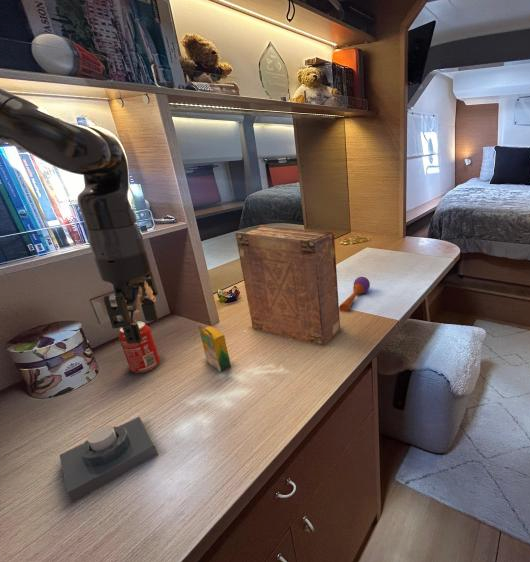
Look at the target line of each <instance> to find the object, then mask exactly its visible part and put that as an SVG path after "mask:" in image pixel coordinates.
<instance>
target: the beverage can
mask: <svg viewBox="0 0 530 562" xmlns="http://www.w3.org/2000/svg"><path fill="white" fill-rule="evenodd" d="M137 323H138V327H139V330H140V333H141V336H142V340H141V342H140V343H134V344H129V343H127V340H126V337H125V334H124V331H123V328H119V333H118V339H119V342H120V345H121V347H122V351H123V353H124V356H125V359H126V361H127V364H128V366H129V369H130V371H131V372H133V373H137V374H140V373H141V374H142V373H145V372H148V371H151V370H153V369H155V368H156V367H157V366H158V365H159V364H160V362H161V360H160V356H159V353H158V350H157V346H156V343H155V341H154V337H153V334H152V331H151V327H150V326H148V325H147V324H146V323H145V322H144V321H137Z"/></svg>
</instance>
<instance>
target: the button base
mask: <svg viewBox="0 0 530 562" xmlns="http://www.w3.org/2000/svg"><path fill="white" fill-rule="evenodd" d="M112 427H113V428H114V431H115V433H116V436H117V440H116V442H115V443H114V444H112V445H111V446H110V447H108V448H106V449H104V450H101V451H97V452H94V451H92V449H91V447H90V445H89V443H88V439H86V440H85V441H84V442H83V443H81V444H79V445H76V446H75V447H73V448H71V449H68V450H66V451H64V452H62V453H61V454H59V459H60V464H61V469H62V474H63V478H64V483H65V489H66V493H67V495H68V497H69V499H70V501H71V502H72V503H75V502H77V501H78V500H80V499H82V498H84V497H87V495H90V494H91V493H93V492H94V491H96V490H98V489H100V488H102V487H104V486H106V485H107V484H109V483H110V482H113V481H114V480H116V479H118V478H119V477H122V476H123V475H125V474H127V473H128V472H130V471H131V470H133V469H136V468H137V467H139V466H141V465H143V464H144V463H146V462H148V461H150V460H151V459H153V458H155V457H156V456H159V452H158V450H157V448H156V445H155V443H154V441H153V439H152V437H151V435H150V433H149V431H148V430H147V428H146V425H145V424H144V422H143V421H142V419H141V417H140V416H137V417H135V418H133V419H131V420H129V421H127V422H124V423H123V424H120V425H119V426H117V425H116V426H112Z"/></svg>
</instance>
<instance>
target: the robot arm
mask: <svg viewBox="0 0 530 562" xmlns="http://www.w3.org/2000/svg"><path fill="white" fill-rule="evenodd" d="M0 142H4V143H6V144H8V145H11V146H14V147H18V148H21V149H22V150H24V151H25V152H27V153H29V154H30V155H32V156H34V157H36V158H37V159H39V160H41V161H43V162H44V163H47V164H49V165H51V166H52V167H55V168H57V169H59V170H62V171H65V172H68V173H72V174H75V175H80V176H83V181H84V188H83V190H82V191H81V192H80V193H79V194H78V196H77V204H78V205H77V206H78V209H79V212H80V214H81V218H82V221H83V223H84V224H83V225H84V227H85V230H86V234H87V241H88V244H89V247H90V250H91V254H92V256H93V260H94V262H95V266H96V268H97V271H98V274H99V277H100V279H101V281H104V282H106V283H110V284H111V285H112V288H113V294H109V295H104V296H103V302H104V305H105V308H106V311H107V315H108V318H109V321H110V324H111V327H112V329H120V328H123V331H124V334H125V337H126V340H127V343H129V344H134V343H140V342H141V340H142V336H141V333H140V330H139V327H138V323H137V322H138V321H137V320H138V313H139V312H141V310H142V313H143V317H144V320H145V321H146V322H154V321H155V322H156V321H157V320H158V319H159V314H158V309H157V307H156V304H155V303H156V300H157V299H156V296H157V297H158V295H159V291H158V287H157V284H156V281H155V278H154V274H153V272H152V267H151V264H150V263H151V262H150V259H149V257H148V254H147V253H148V252H147V249H146V245H145V241H144V238H143V235H142V233H141V230H140V227H139V225H138V223H137V219H136V215H135V212H134V209H133V205H132V202H131V199H130V179H129V178H130V177H129V165H128V164H129V163H128V158H127V154H126V152H125V149H124V147H123V145H122V143H121V141H120V140H119V139H118V138H117V136H116V135H114V133H112V132H111V131H109V130H107V129H105V128H103V127H100V126H95V125H94V126H92V125H78V124H73V123H71V122H68V121H65V120H62V119H60V118H58V117H55V116H53V115H51V114H49V113H48V111H47V110H46V109H45V108H43V107H42V106H40V105H38V104H37V103H35V102H33V101H31V100H29V99H26V98H24V97H21V96H19V95H16V94H14V93H12V92H9V91H7V90H5V89H2V88H0Z"/></svg>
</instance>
